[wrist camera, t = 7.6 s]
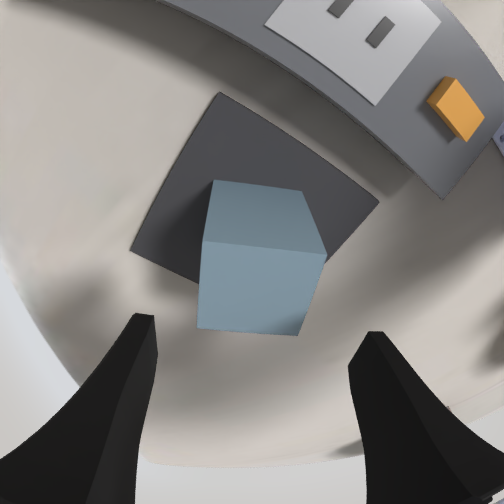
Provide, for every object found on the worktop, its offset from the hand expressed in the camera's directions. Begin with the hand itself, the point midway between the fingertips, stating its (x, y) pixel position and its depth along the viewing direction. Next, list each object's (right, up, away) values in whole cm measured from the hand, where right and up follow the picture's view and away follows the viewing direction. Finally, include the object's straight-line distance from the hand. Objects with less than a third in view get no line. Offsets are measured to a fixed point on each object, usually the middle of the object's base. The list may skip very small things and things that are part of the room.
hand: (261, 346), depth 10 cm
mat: (0, +5, +7) cm, 8 cm away
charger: (0, +5, +6) cm, 8 cm away
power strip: (+1, +15, 0) cm, 15 cm away
